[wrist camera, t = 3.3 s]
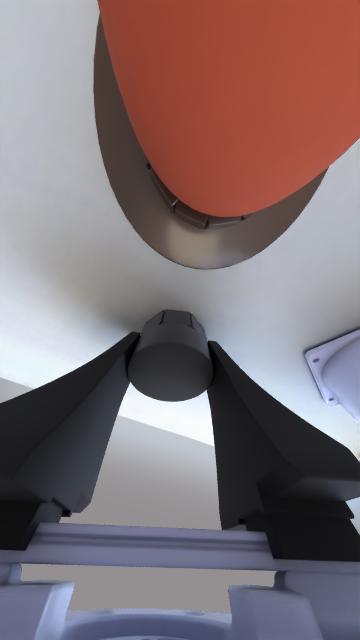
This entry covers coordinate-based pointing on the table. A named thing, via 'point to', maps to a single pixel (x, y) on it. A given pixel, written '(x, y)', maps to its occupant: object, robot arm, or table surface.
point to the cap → (171, 358)
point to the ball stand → (162, 205)
